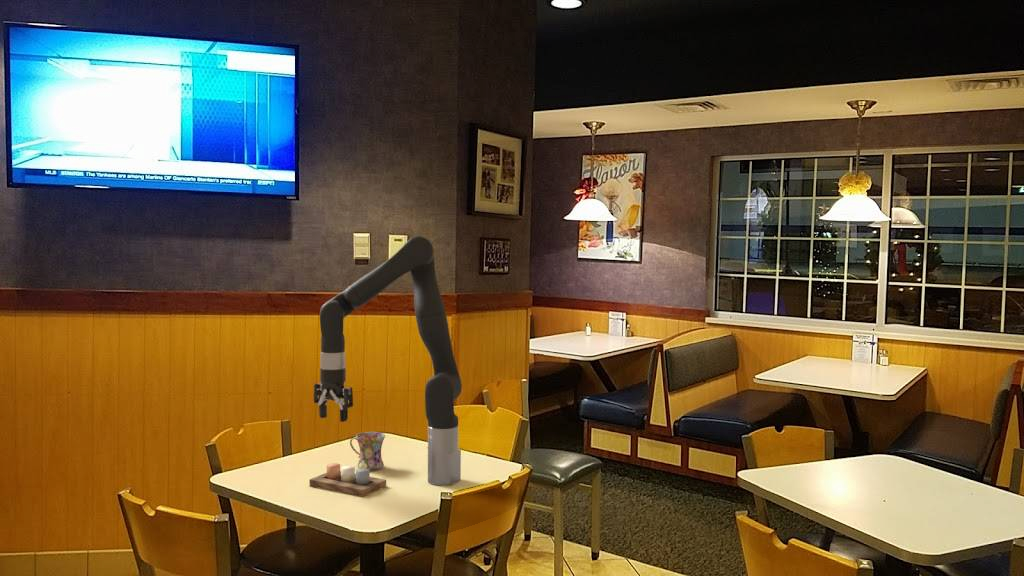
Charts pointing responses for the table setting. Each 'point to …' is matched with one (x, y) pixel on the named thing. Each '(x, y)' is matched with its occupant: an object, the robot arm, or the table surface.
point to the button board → (347, 485)
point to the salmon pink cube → (333, 471)
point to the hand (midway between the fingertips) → (333, 419)
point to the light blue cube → (362, 477)
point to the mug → (369, 450)
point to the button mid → (347, 474)
